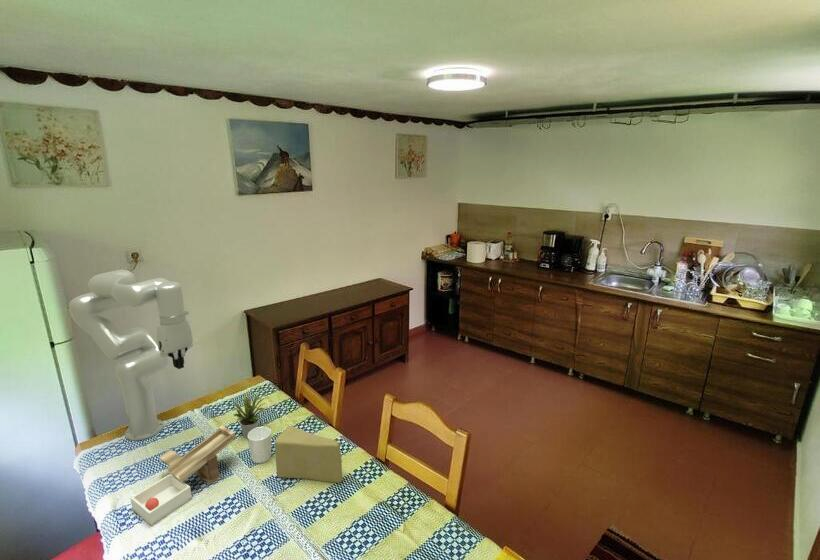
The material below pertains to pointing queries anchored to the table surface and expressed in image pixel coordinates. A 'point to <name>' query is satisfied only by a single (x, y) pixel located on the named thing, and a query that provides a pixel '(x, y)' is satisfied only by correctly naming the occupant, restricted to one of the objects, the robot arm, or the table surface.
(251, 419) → the house plant
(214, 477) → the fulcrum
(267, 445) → the white cup
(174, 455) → the lever
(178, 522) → the table surface
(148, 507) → the ball
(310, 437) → the cheese
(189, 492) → the dish
